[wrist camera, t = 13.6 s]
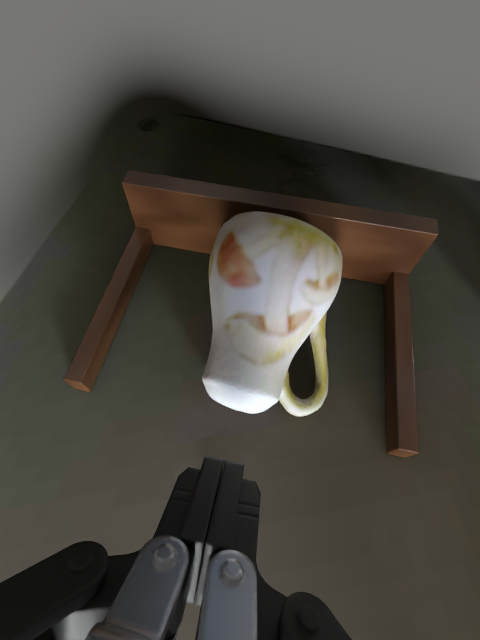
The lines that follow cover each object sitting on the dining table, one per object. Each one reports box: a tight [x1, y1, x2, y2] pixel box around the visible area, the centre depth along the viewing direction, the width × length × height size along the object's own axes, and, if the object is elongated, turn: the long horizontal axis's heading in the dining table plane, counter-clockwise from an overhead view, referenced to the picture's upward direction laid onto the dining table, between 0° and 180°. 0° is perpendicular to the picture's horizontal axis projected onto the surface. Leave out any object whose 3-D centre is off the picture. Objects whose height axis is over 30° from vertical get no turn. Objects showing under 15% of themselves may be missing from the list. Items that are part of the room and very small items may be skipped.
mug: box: [202, 211, 342, 417], centre depth 18 cm, size 8×10×10 cm
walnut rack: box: [64, 170, 438, 458], centre depth 19 cm, size 18×12×5 cm
